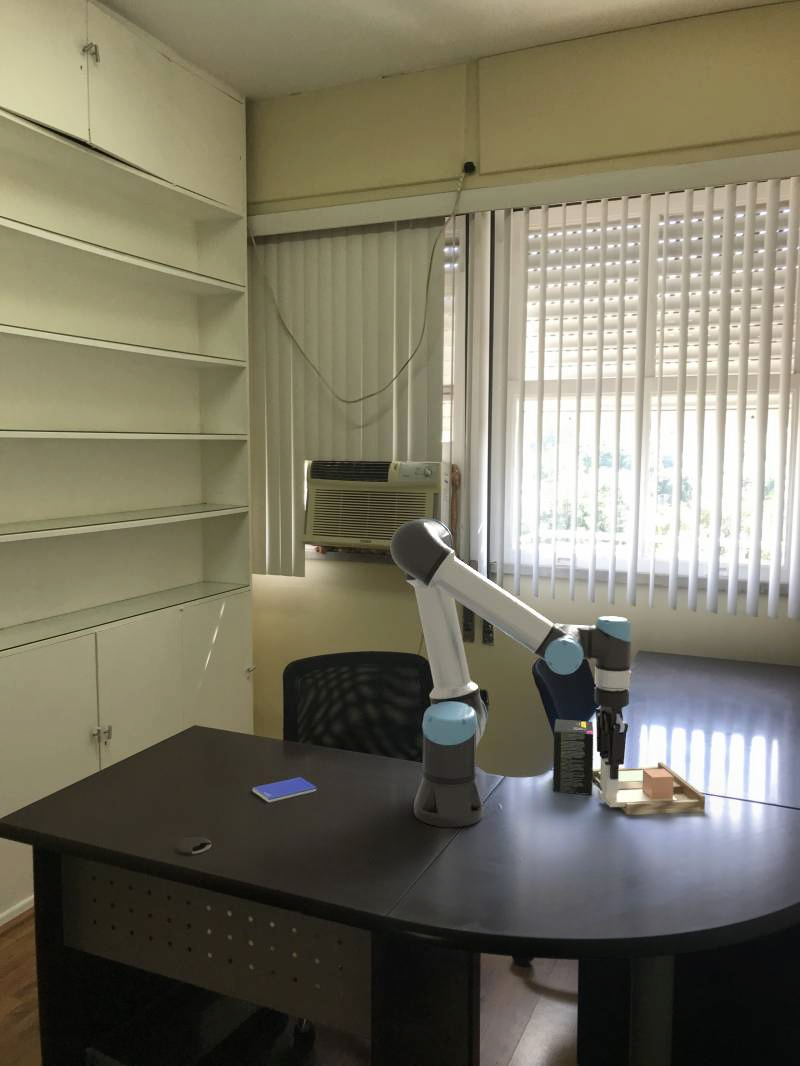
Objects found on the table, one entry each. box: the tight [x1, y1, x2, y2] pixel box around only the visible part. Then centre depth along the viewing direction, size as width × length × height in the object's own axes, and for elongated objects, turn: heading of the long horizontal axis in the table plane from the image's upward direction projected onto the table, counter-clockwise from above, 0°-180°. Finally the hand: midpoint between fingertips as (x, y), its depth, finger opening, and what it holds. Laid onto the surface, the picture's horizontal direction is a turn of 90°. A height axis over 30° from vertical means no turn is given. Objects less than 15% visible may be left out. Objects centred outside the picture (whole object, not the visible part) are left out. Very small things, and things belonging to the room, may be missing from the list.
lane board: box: [592, 761, 706, 816], centre depth 200 cm, size 18×22×4 cm
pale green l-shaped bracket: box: [598, 757, 643, 782], centre depth 205 cm, size 16×7×9 cm, turn 98°
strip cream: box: [598, 760, 677, 808], centre depth 193 cm, size 16×7×9 cm, turn 98°
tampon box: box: [552, 718, 594, 795], centre depth 205 cm, size 11×9×15 cm
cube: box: [642, 769, 674, 799], centre depth 194 cm, size 5×5×5 cm
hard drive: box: [252, 776, 317, 803], centre depth 200 cm, size 2×8×12 cm
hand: (609, 789), depth 192 cm, fingers closed on strip cream, 2 cm apart
